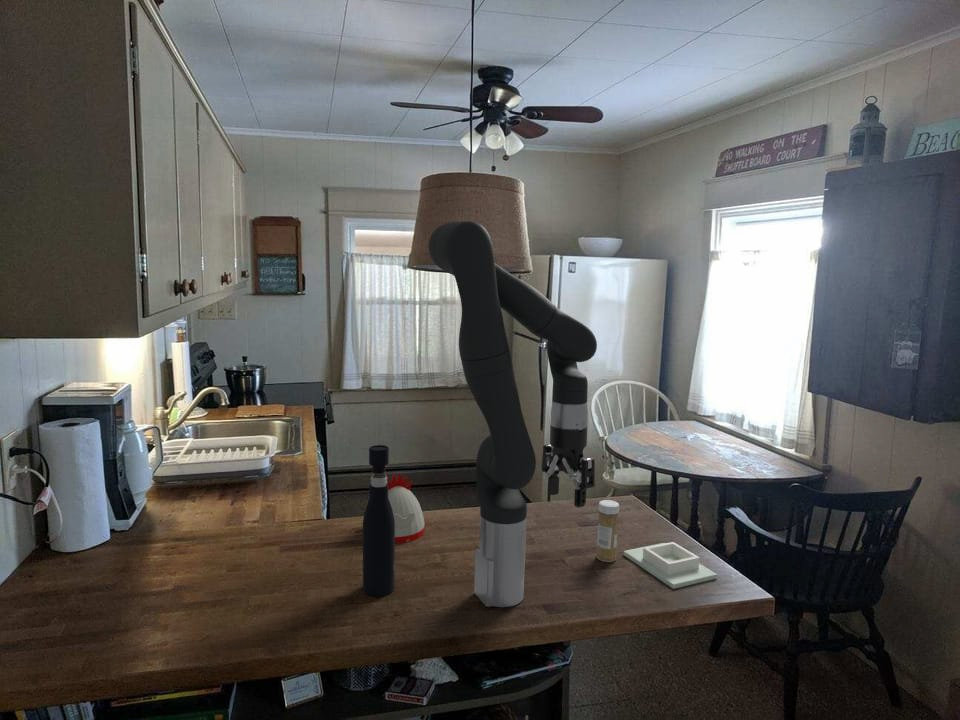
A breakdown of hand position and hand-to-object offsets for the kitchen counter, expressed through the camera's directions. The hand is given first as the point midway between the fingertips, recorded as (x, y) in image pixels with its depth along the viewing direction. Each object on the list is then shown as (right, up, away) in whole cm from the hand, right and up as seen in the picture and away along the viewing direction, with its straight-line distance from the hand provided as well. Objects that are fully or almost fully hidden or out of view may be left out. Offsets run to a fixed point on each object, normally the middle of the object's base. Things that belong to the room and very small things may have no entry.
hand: (566, 500), depth 136 cm
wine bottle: (-39, -18, -1) cm, 43 cm away
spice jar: (+11, -17, +15) cm, 25 cm away
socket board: (+25, -18, +12) cm, 33 cm away
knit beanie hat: (-39, -14, +27) cm, 49 cm away
